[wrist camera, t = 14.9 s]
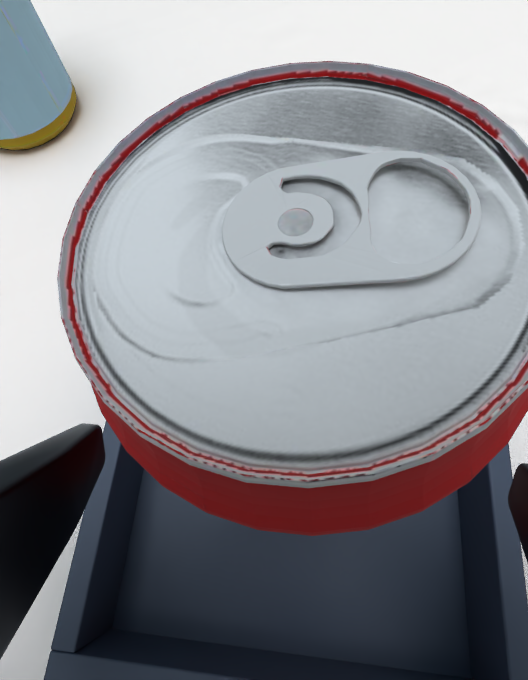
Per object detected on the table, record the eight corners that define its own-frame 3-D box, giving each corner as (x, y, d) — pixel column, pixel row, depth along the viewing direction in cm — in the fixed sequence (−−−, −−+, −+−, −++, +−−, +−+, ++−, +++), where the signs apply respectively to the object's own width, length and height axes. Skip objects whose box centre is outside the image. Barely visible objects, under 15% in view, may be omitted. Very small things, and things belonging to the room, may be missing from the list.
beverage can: (364, 549, 16) (808, 777, 2) (208, 498, 17) (-136, 444, 3) (391, 404, 18) (709, 68, 4) (250, 367, 19) (148, -1, 5)
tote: (490, 703, 15) (548, 758, 11) (92, 647, 16) (41, 681, 13) (458, 325, 20) (490, 289, 17) (164, 306, 21) (141, 270, 18)
